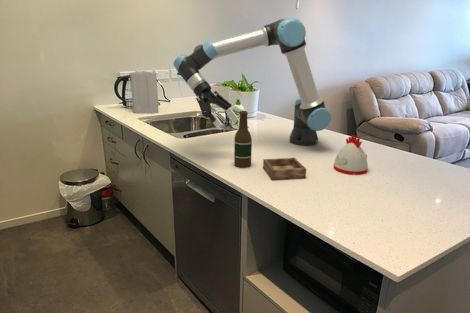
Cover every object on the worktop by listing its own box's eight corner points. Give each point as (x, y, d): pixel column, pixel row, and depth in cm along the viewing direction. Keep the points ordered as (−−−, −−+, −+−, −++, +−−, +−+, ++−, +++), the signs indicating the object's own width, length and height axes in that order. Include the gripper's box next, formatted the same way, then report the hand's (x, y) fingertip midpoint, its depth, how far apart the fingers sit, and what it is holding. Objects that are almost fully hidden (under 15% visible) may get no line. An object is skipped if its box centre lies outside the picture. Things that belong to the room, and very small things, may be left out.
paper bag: (128, 111, 266) (124, 72, 257) (146, 108, 276) (143, 71, 266) (140, 115, 253) (137, 74, 244) (159, 112, 262) (156, 73, 253)
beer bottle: (253, 163, 162) (255, 110, 154) (248, 169, 155) (249, 113, 147) (237, 161, 164) (237, 109, 156) (231, 166, 157) (231, 112, 149)
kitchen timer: (349, 177, 147) (353, 141, 142) (326, 166, 159) (330, 133, 154) (374, 171, 153) (379, 137, 148) (350, 162, 165) (354, 130, 160)
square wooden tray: (293, 166, 158) (294, 157, 157) (305, 178, 145) (306, 168, 144) (263, 168, 156) (263, 159, 155) (272, 180, 143) (272, 170, 142)
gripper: (210, 88, 171) (237, 123, 168) (177, 95, 150) (207, 135, 148) (219, 77, 166) (247, 113, 164) (187, 83, 146) (218, 124, 144)
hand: (228, 123), depth 156 cm, fingers open, 13 cm apart
